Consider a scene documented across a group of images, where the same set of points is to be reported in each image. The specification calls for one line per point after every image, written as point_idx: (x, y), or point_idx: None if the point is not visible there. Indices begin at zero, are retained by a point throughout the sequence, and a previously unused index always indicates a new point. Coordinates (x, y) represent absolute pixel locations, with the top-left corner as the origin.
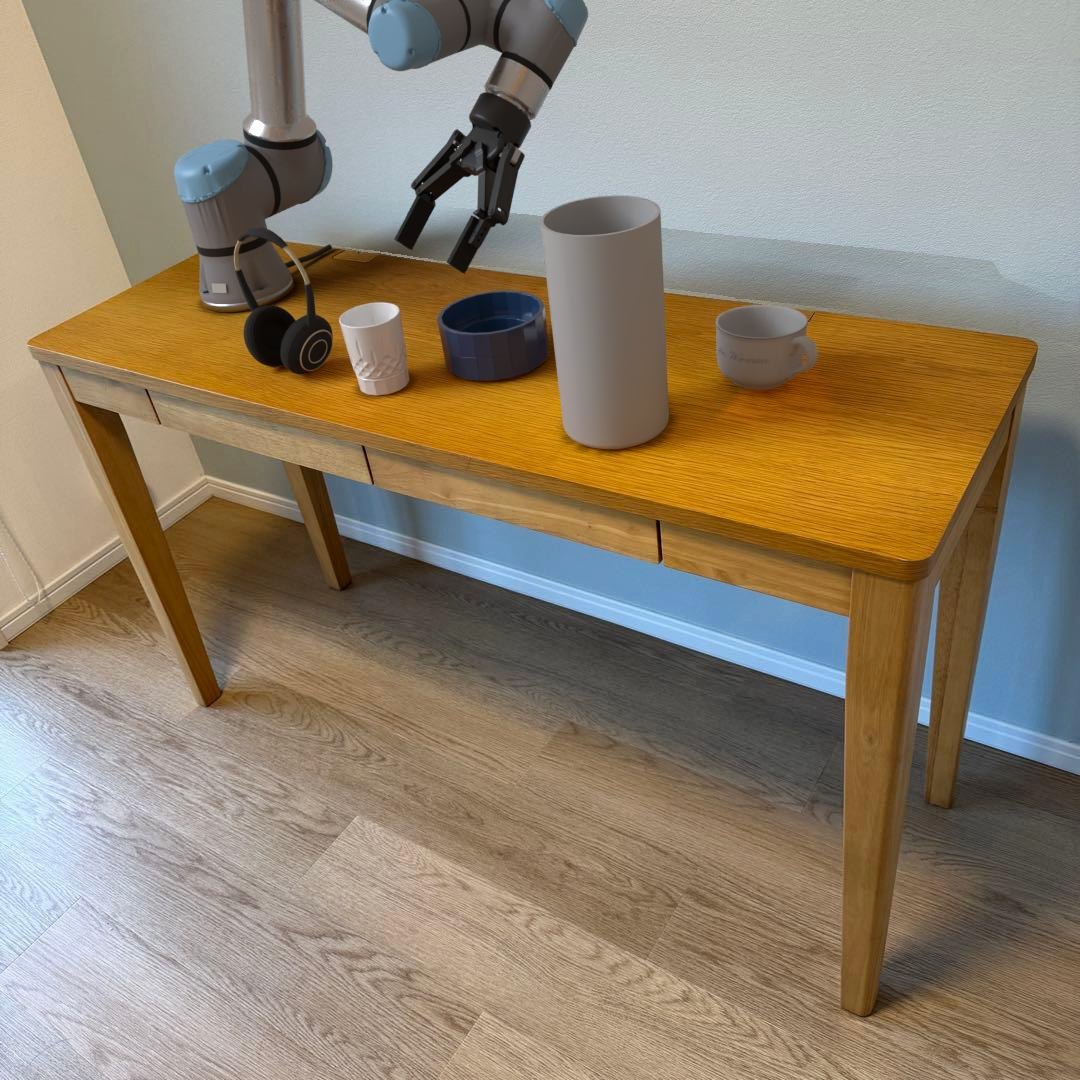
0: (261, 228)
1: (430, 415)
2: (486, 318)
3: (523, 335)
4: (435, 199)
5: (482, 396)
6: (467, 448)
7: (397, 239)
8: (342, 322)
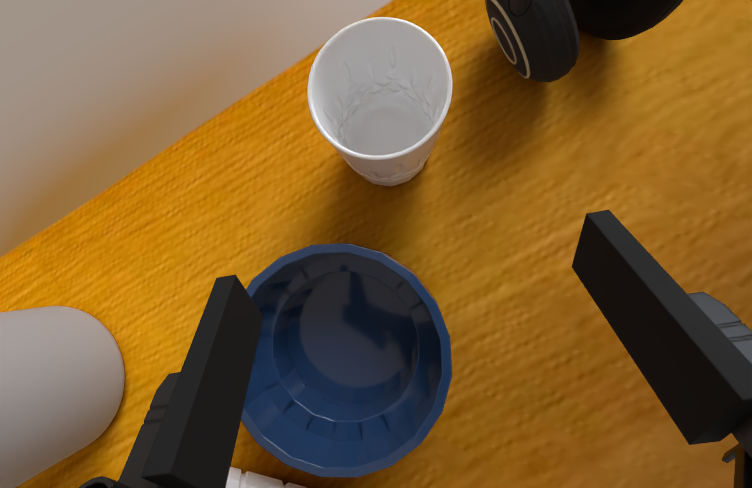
0: None
1: (247, 174)
2: (423, 366)
3: None
4: (735, 481)
5: (252, 261)
6: (133, 184)
7: (589, 217)
8: (406, 33)
